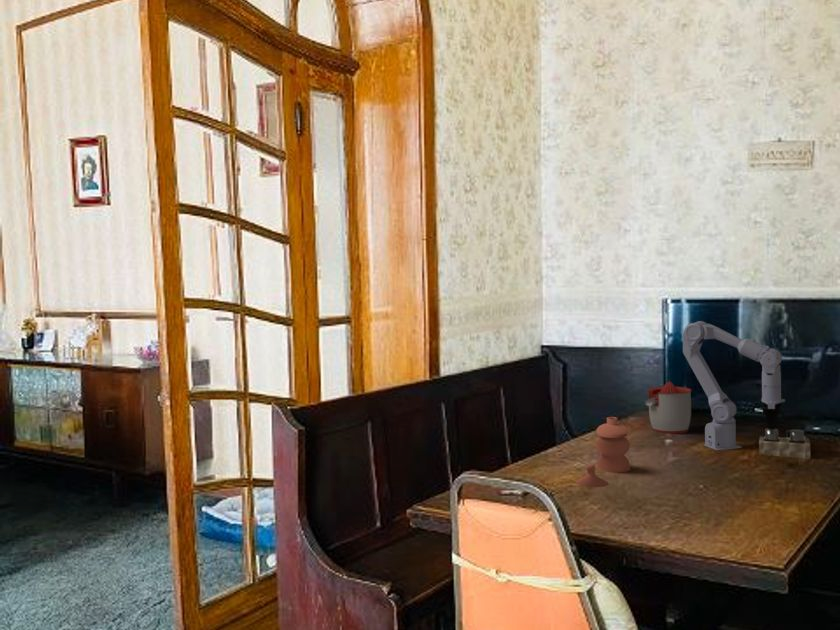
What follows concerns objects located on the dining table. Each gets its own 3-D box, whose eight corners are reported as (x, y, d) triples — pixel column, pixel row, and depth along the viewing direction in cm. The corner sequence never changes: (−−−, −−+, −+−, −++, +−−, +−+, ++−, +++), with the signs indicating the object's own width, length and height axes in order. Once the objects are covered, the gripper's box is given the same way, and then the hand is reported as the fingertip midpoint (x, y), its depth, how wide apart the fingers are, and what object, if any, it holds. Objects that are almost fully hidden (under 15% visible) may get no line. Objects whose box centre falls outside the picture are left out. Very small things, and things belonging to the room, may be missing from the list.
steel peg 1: (765, 444, 257) (764, 430, 256) (765, 442, 260) (765, 428, 260) (778, 445, 255) (778, 431, 255) (778, 442, 259) (778, 428, 258)
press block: (759, 457, 255) (759, 442, 255) (759, 451, 264) (759, 436, 263) (810, 460, 249) (810, 445, 249) (809, 454, 257) (809, 439, 257)
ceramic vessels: (616, 512, 206) (615, 441, 204) (542, 502, 217) (540, 435, 215) (652, 479, 235) (651, 417, 234) (585, 471, 246) (584, 412, 245)
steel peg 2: (790, 446, 254) (790, 431, 253) (790, 443, 257) (790, 429, 257) (804, 447, 252) (803, 432, 252) (803, 444, 255) (803, 429, 255)
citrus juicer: (636, 432, 299) (635, 380, 297) (675, 428, 304) (674, 377, 303) (660, 440, 284) (659, 386, 283) (701, 436, 289) (700, 382, 288)
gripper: (784, 389, 248) (785, 431, 249) (784, 383, 261) (784, 423, 262) (760, 389, 251) (761, 430, 252) (761, 382, 264) (762, 422, 265)
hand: (771, 426), depth 257 cm, fingers open, 7 cm apart
